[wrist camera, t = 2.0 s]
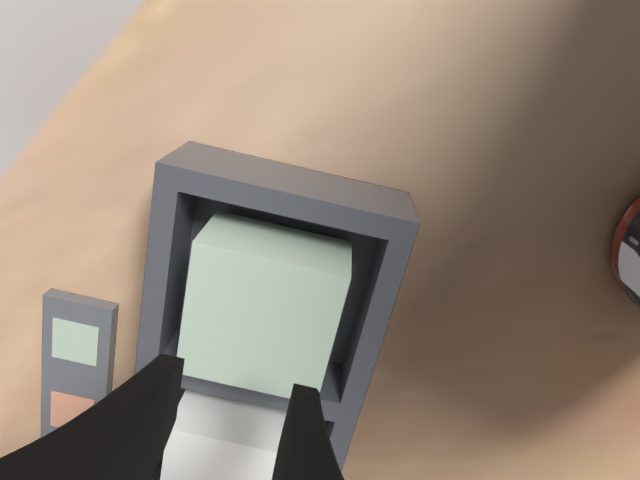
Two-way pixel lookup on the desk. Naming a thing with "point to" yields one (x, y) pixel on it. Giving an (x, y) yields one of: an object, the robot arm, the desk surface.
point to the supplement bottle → (628, 252)
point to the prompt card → (75, 355)
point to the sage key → (262, 304)
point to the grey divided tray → (291, 211)
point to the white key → (222, 440)
